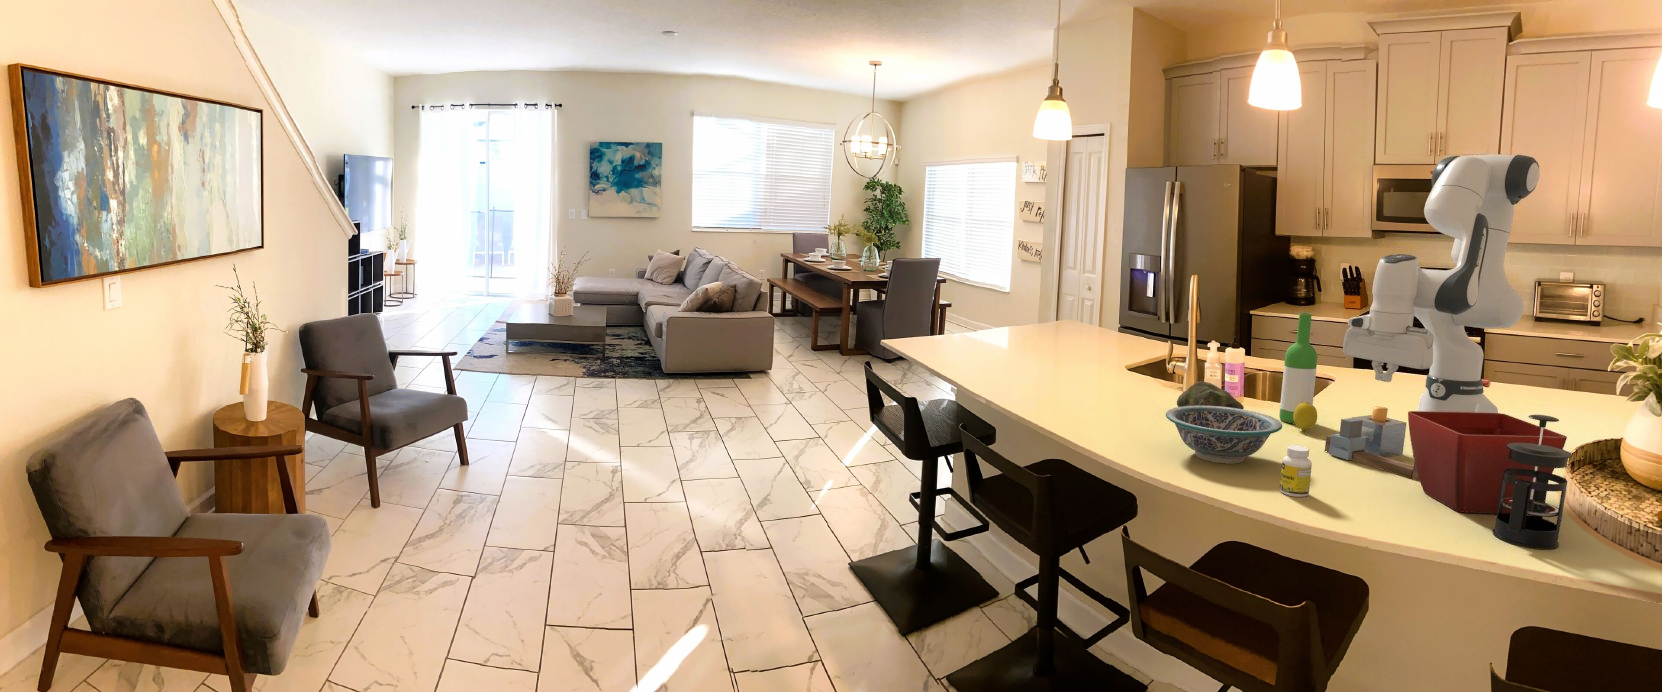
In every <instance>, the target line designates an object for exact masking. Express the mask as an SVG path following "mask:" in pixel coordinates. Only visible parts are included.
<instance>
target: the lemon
mask: <svg viewBox="0 0 1662 692" xmlns="http://www.w3.org/2000/svg"><path fill="white" fill-rule="evenodd" d="M1293 419H1294V422H1295V424H1294V425H1295V426H1296V427H1298V428H1299V429H1300V430H1301V431H1302V430H1303V432H1306V431H1307V430H1309V429H1312V428H1313V427H1315V425H1316V423H1317V421H1318V411H1317V408H1316V407H1315V405H1314V404H1313V405H1312V404H1310V403H1309V402H1304V403H1301V404H1299V405H1298V406H1297V407H1296V408H1295V411H1294V414H1293Z"/></svg>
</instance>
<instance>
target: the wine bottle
mask: <svg viewBox="0 0 1662 692" xmlns="http://www.w3.org/2000/svg"><path fill="white" fill-rule="evenodd" d="M1298 315H1299V316H1298V321H1297V322H1298V323H1297V331H1296V332H1297V333H1296V340H1295V342H1294V343H1293V344H1292V345H1290V346H1289V347H1288V348H1287V350H1286V351H1285V354H1284V365H1283V374H1282V375H1283V376H1282V385H1281V393H1280V394H1281V395H1280V404H1279V420H1281V421H1282V422H1284V423H1287V422H1288V423H1287V424H1291V423H1294V425H1296V424H1295V422H1294V419H1293V414H1294V411H1295V408H1296V407H1297V406H1298V405H1299V404H1301V403H1304V402H1309V403H1310V404H1312V405H1313V406H1314V396H1315V385H1316V378H1317V377H1316V376H1317V365H1318V364H1317V363H1318V354H1317V350H1316V349H1315V347H1314V346H1313V345H1312V344H1310V337H1311V336H1310V335H1311V324H1312V313H1307V312H1301V313H1299V314H1298Z"/></svg>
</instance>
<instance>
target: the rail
mask: <svg viewBox="0 0 1662 692" xmlns="http://www.w3.org/2000/svg"><path fill="white" fill-rule="evenodd" d="M1331 435H1332V434H1330V435H1326V436H1325V443H1324V445H1325V446H1324V452H1325V451H1327V452H1329V447H1330V438H1331ZM1327 452H1326V453H1327ZM1353 460H1354V462H1356V461H1358V462H1357V463H1359V462H1360V464H1363V465H1366V464H1367V466H1369V465H1370V467H1372V466H1373V467H1372V468H1376V469H1380V470H1381V471H1382V470H1383V471H1385V472H1388V471H1389V472H1388V473H1393V474H1395V475H1399V476H1401V477H1405V478H1408V479H1412V480H1414V481H1420V479H1419V475H1418V472H1417V468H1416V465H1415V460H1414V461H1413V465H1412V464H1409V463H1405V462H1401V461H1398V460H1395V459H1391V458H1389V457H1382V456H1378V455H1375V454H1372V453H1368V452H1365V451H1361V450H1358V451H1352V459H1351V461H1353Z"/></svg>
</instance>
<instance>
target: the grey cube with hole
mask: <svg viewBox="0 0 1662 692" xmlns="http://www.w3.org/2000/svg"><path fill="white" fill-rule="evenodd" d="M1351 418H1356V419H1360V420H1363V422H1362V431H1361V435H1362V436H1366V437H1369V447H1368V453H1372V454H1375V455H1378V456H1382V457H1385V458H1389V457H1391V458H1392V457H1396V456H1402V455H1403V454H1404V446H1405V438H1406V430H1407V422H1406V421H1402V420H1398V419H1394V418H1390V417H1387V419H1386V422H1377V421H1373V420H1372V414H1369V415H1361V416H1352V417H1351Z"/></svg>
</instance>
